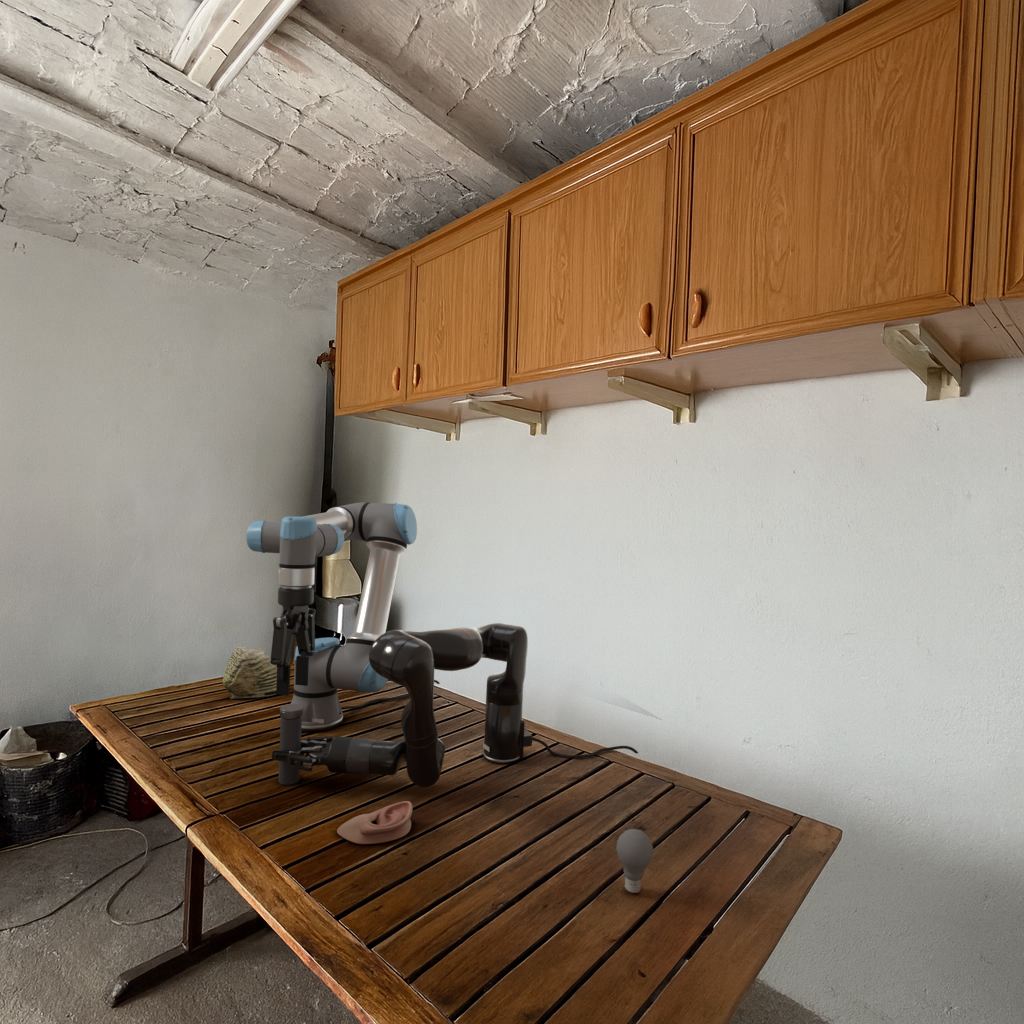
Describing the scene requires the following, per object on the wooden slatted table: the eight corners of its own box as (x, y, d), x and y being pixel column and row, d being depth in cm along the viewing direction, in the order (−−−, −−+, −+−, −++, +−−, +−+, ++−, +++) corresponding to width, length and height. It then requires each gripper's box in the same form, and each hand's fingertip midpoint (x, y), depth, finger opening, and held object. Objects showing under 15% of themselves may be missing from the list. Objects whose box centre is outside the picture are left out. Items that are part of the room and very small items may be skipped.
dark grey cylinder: (276, 785, 138) (278, 713, 138) (281, 776, 143) (283, 706, 142) (297, 784, 139) (299, 713, 138) (301, 775, 143) (304, 706, 143)
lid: (277, 719, 138) (277, 711, 138) (282, 711, 143) (283, 704, 143) (300, 719, 138) (300, 711, 138) (305, 711, 143) (305, 704, 143)
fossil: (218, 695, 195) (220, 647, 195) (278, 685, 208) (279, 640, 207) (228, 703, 189) (230, 653, 188) (289, 692, 201) (290, 645, 201)
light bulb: (610, 879, 108) (613, 822, 108) (644, 879, 109) (647, 822, 109) (619, 902, 102) (622, 840, 102) (655, 901, 103) (658, 840, 103)
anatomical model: (329, 818, 117) (357, 790, 128) (328, 839, 117) (356, 810, 128) (397, 828, 114) (419, 799, 126) (396, 850, 114) (418, 819, 126)
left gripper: (304, 580, 150) (300, 676, 151) (254, 591, 131) (250, 701, 131) (333, 582, 149) (329, 679, 149) (286, 593, 129) (282, 705, 130)
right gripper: (363, 727, 147) (291, 722, 148) (343, 751, 132) (263, 745, 134) (362, 759, 147) (290, 754, 148) (341, 787, 133) (262, 780, 134)
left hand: (292, 689), depth 140 cm, fingers open, 7 cm apart
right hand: (278, 750), depth 141 cm, fingers closed on dark grey cylinder, 4 cm apart
